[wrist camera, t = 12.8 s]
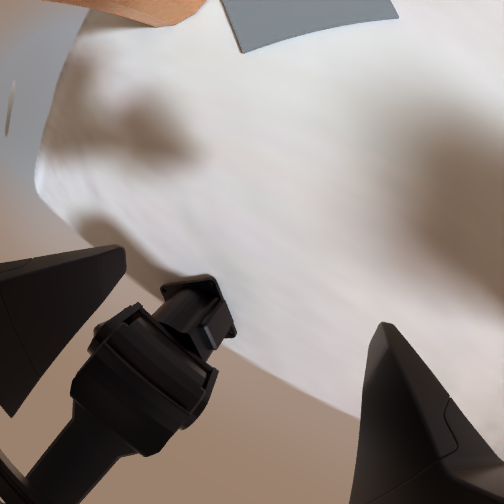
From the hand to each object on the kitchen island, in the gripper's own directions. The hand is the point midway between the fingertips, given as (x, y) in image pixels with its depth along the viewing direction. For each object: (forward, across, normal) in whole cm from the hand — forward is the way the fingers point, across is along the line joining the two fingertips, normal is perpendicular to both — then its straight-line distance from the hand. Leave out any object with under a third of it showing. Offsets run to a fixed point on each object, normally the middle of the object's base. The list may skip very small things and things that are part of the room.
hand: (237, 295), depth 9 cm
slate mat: (+13, +3, -18) cm, 22 cm away
